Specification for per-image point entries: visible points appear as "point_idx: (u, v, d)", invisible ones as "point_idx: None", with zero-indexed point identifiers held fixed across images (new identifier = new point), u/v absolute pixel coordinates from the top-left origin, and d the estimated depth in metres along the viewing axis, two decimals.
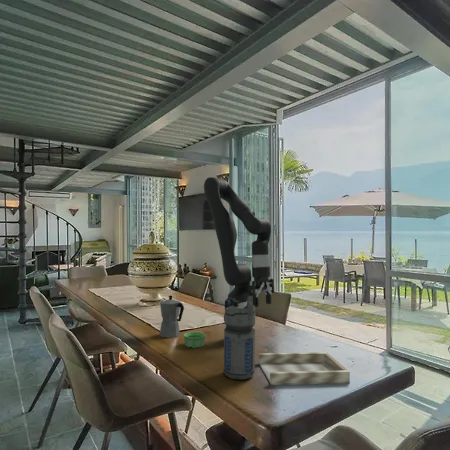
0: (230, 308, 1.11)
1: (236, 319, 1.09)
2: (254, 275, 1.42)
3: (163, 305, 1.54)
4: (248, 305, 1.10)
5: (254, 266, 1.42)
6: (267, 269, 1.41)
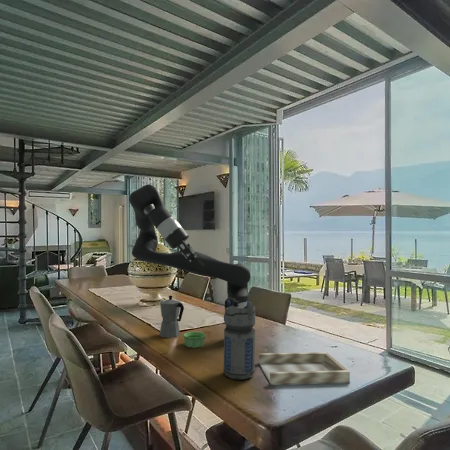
0: (230, 308, 1.11)
1: (236, 319, 1.09)
2: (176, 241, 1.18)
3: (163, 305, 1.54)
4: (248, 305, 1.10)
5: (170, 232, 1.18)
6: (183, 229, 1.22)
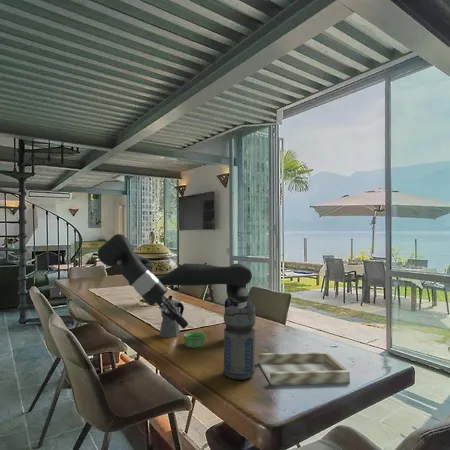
0: (230, 308, 1.11)
1: (236, 319, 1.09)
2: (155, 299, 1.08)
3: None
4: (248, 305, 1.10)
5: (147, 290, 1.08)
6: (161, 283, 1.12)
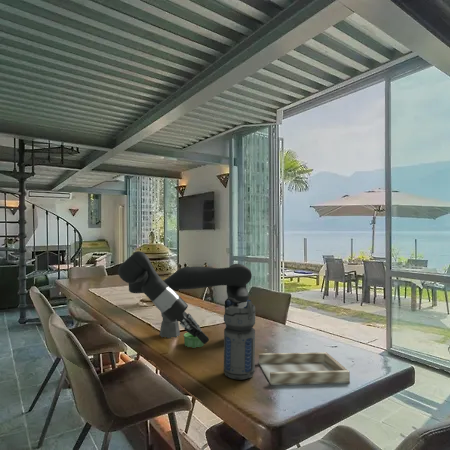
0: (230, 308, 1.11)
1: (236, 319, 1.09)
2: (176, 315, 1.09)
3: None
4: (248, 305, 1.10)
5: (168, 307, 1.09)
6: (181, 299, 1.12)
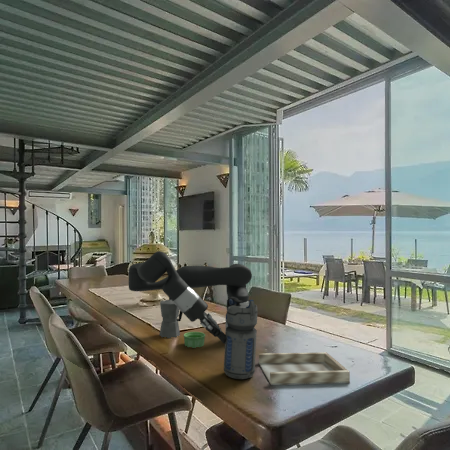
0: (232, 307, 1.11)
1: (238, 319, 1.09)
2: (197, 315, 1.09)
3: (163, 305, 1.54)
4: (250, 305, 1.10)
5: (189, 306, 1.09)
6: (201, 299, 1.13)
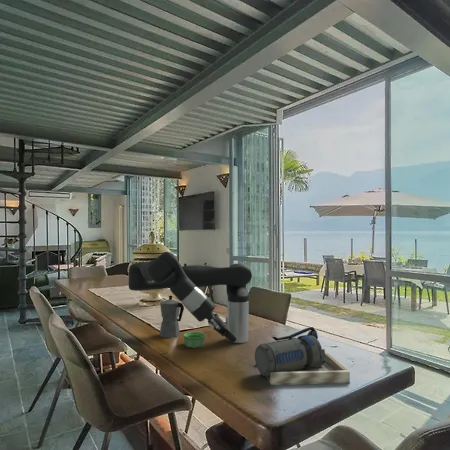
0: (324, 352, 1.17)
1: (317, 360, 1.16)
2: (205, 315, 1.10)
3: (163, 305, 1.54)
4: (321, 364, 1.20)
5: (197, 306, 1.10)
6: None
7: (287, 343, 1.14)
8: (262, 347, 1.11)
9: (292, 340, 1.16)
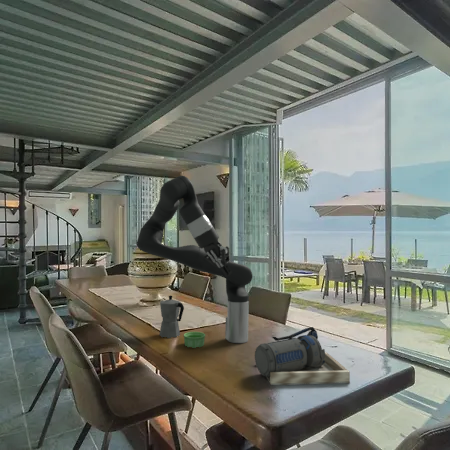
0: (324, 352, 1.17)
1: (317, 360, 1.16)
2: (213, 239, 1.13)
3: (163, 305, 1.54)
4: (321, 364, 1.20)
5: (207, 229, 1.13)
6: None
7: (287, 343, 1.14)
8: (262, 347, 1.11)
9: (292, 340, 1.16)
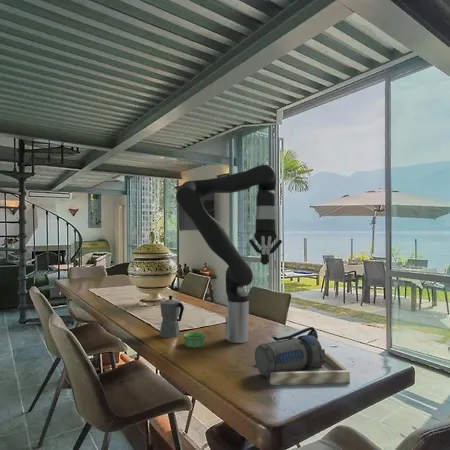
0: (324, 352, 1.17)
1: (317, 360, 1.16)
2: None
3: (163, 305, 1.54)
4: (321, 364, 1.20)
5: None
6: None
7: (287, 343, 1.14)
8: (262, 347, 1.11)
9: (292, 340, 1.16)
